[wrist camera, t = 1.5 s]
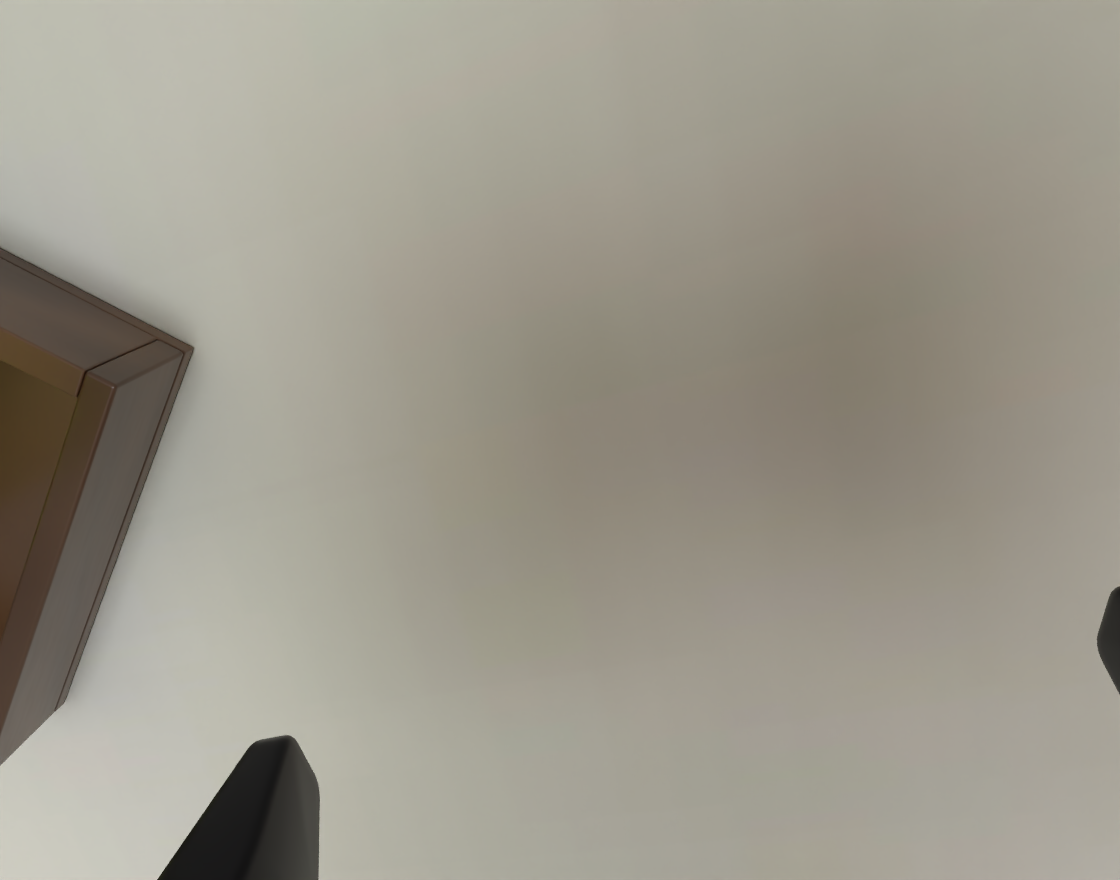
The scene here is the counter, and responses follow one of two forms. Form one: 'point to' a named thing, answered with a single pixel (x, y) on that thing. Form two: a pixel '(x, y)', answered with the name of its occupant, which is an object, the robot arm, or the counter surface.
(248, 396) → the counter surface
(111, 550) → the crate
